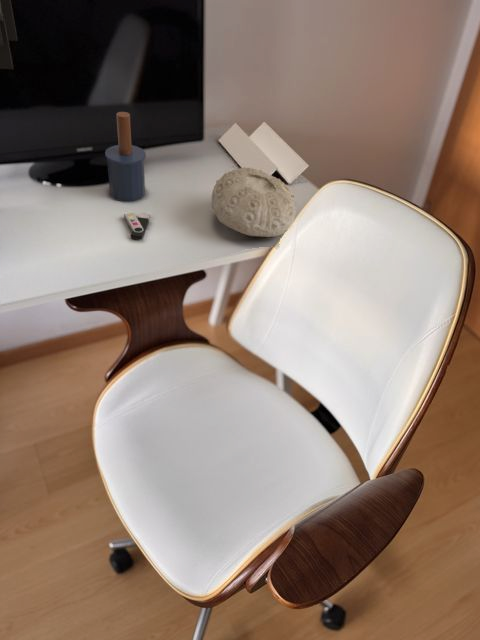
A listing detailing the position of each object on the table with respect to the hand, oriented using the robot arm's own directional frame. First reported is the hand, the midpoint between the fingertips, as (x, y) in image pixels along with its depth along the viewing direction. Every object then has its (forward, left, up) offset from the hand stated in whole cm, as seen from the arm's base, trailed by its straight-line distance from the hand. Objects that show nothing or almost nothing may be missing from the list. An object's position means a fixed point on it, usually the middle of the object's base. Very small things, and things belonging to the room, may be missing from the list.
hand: (6, 53), depth 86 cm
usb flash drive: (+18, -3, -31) cm, 36 cm away
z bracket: (+54, +26, -31) cm, 67 cm away
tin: (+18, +11, -31) cm, 37 cm away
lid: (+18, +11, -22) cm, 31 cm away
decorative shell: (+42, -3, -31) cm, 52 cm away
